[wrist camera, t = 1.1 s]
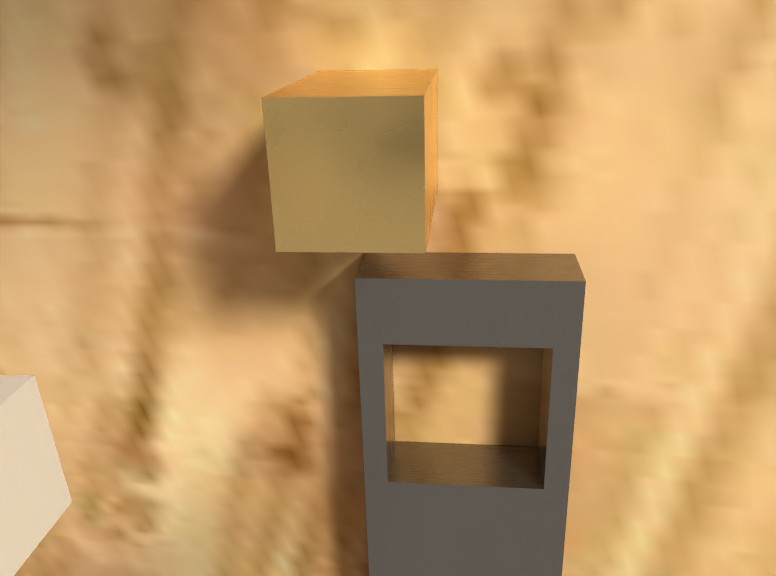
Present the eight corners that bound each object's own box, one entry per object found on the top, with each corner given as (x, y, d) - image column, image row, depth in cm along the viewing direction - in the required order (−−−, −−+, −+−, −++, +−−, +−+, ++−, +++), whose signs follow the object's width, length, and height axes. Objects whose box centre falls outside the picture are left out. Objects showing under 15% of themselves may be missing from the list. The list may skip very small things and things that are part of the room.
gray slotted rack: (365, 252, 29) (354, 278, 27) (574, 254, 28) (585, 281, 26) (383, 670, 38) (376, 722, 36) (542, 683, 37) (548, 737, 35)
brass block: (319, 70, 27) (261, 97, 20) (437, 68, 26) (424, 95, 19) (326, 187, 29) (275, 252, 21) (437, 186, 28) (425, 253, 21)
